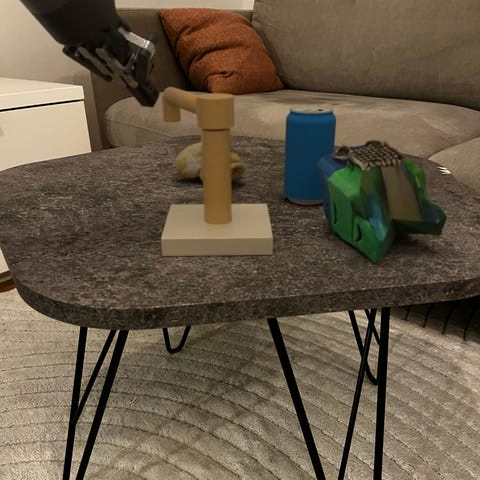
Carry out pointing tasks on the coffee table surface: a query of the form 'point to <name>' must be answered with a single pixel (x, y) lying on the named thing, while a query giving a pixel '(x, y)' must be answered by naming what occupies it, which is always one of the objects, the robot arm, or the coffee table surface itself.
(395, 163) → the sculpture
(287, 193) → the beverage can
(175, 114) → the spout
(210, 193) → the faucet base
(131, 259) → the coffee table surface
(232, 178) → the seashell
